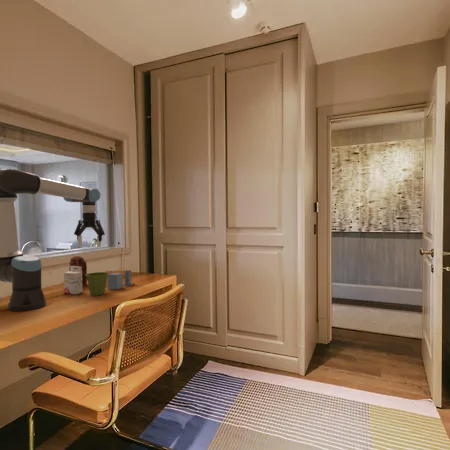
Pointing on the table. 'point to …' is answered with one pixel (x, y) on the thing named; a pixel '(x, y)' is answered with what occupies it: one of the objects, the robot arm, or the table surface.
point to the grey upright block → (115, 281)
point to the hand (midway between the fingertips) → (89, 246)
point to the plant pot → (97, 282)
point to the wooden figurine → (80, 262)
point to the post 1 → (107, 276)
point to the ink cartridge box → (73, 280)
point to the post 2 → (128, 278)
